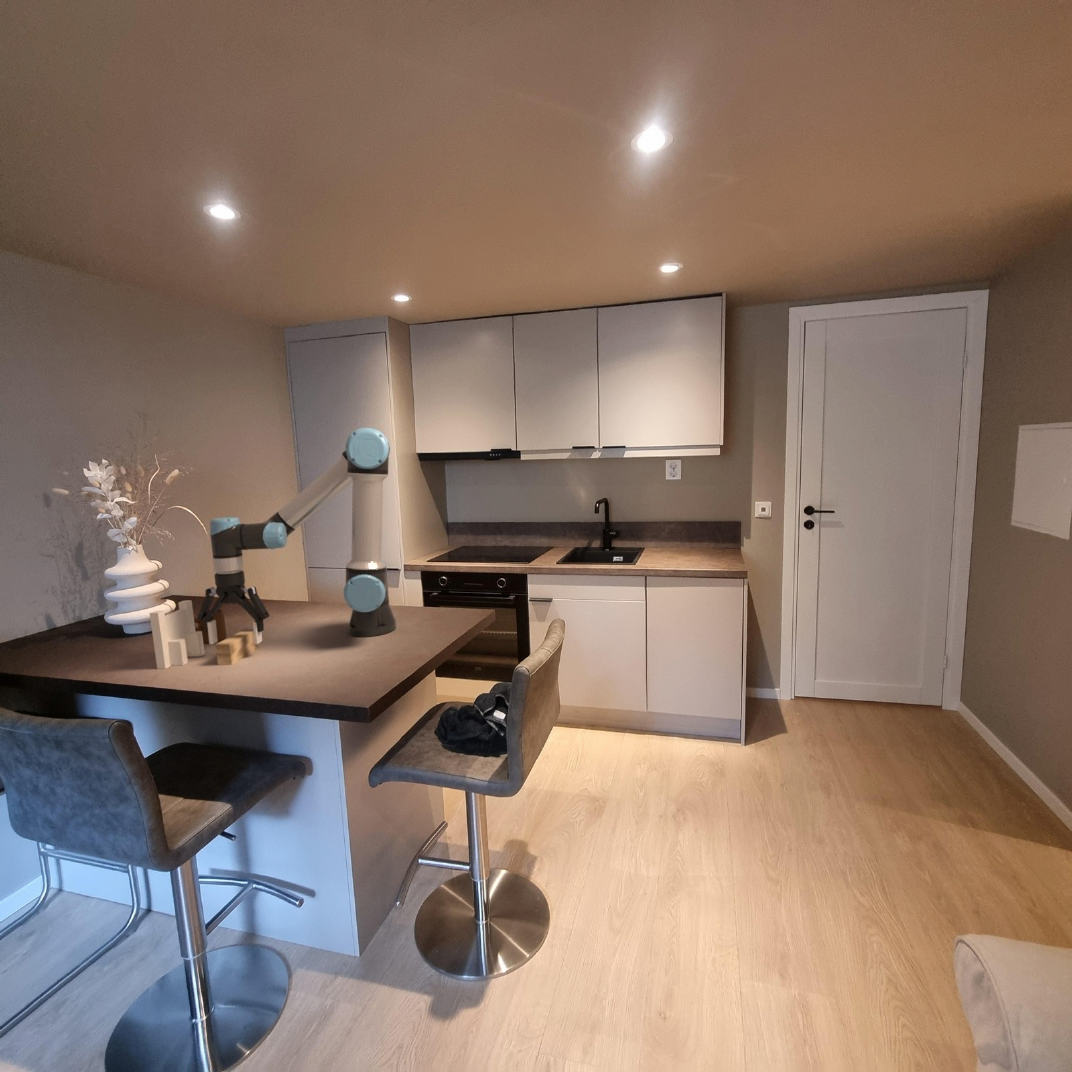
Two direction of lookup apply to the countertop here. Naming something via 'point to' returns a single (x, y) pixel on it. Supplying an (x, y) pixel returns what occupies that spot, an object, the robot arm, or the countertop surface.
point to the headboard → (175, 636)
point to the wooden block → (236, 647)
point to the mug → (219, 626)
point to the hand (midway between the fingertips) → (236, 642)
